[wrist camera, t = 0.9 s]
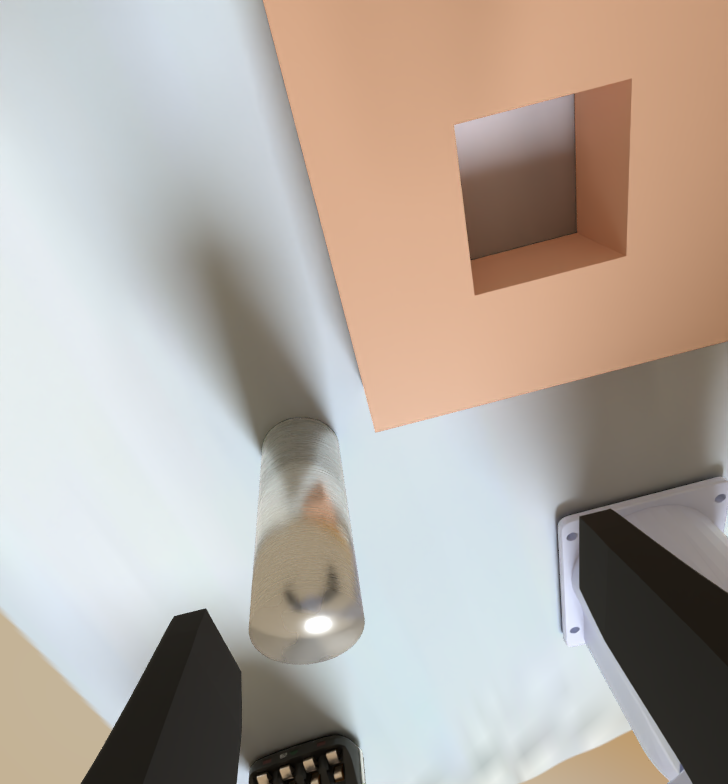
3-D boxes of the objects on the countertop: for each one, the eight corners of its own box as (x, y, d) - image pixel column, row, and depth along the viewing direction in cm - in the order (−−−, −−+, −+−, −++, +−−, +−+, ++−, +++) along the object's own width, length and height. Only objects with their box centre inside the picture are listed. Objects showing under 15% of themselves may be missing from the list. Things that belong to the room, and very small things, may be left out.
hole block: (676, 307, 20) (735, 339, 17) (364, 387, 20) (375, 432, 17) (712, -121, 14) (812, -172, 11) (262, -3, 14) (256, -26, 11)
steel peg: (347, 469, 21) (375, 647, 14) (275, 487, 21) (269, 675, 14) (328, 408, 20) (349, 575, 13) (251, 429, 20) (232, 606, 13)
